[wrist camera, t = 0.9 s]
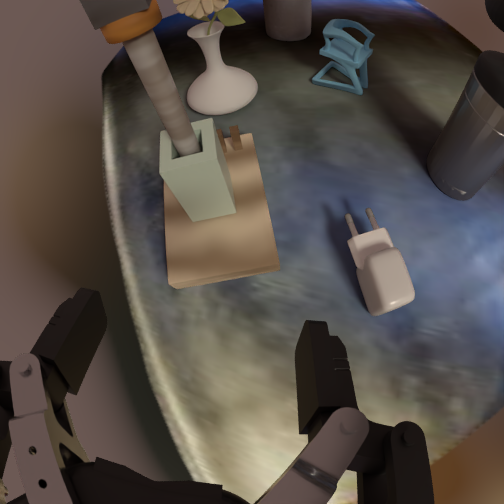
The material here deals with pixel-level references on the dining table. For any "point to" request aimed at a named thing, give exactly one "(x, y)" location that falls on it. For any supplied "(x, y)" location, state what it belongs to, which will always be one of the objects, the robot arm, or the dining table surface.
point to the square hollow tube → (198, 174)
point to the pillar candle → (287, 19)
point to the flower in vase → (216, 61)
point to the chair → (345, 56)
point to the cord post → (185, 141)
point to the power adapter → (379, 268)
